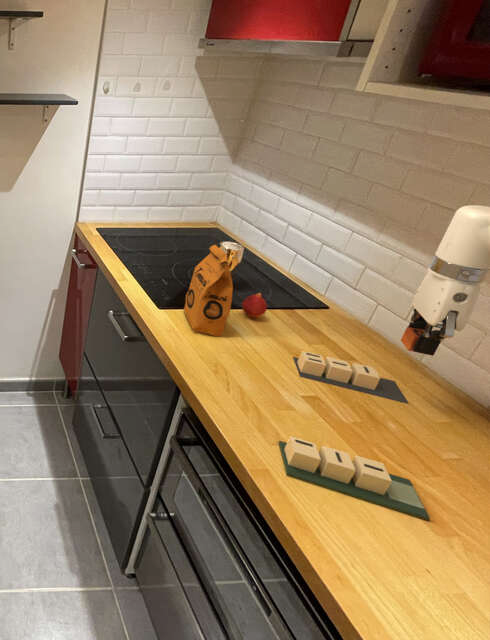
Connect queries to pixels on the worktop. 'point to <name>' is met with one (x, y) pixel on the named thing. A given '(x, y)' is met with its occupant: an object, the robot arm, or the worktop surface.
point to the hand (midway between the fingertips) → (417, 345)
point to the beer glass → (232, 255)
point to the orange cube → (411, 337)
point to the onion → (254, 305)
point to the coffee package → (210, 294)
